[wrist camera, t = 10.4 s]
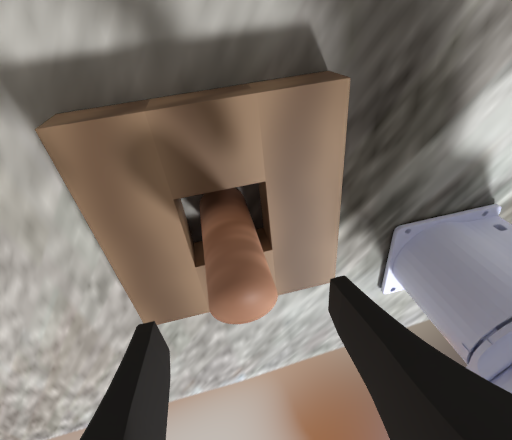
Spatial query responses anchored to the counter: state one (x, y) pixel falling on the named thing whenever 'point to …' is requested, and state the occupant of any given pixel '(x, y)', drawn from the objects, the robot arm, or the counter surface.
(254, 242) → the terracotta peg
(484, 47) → the counter surface
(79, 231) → the counter surface
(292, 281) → the walnut socket plate
